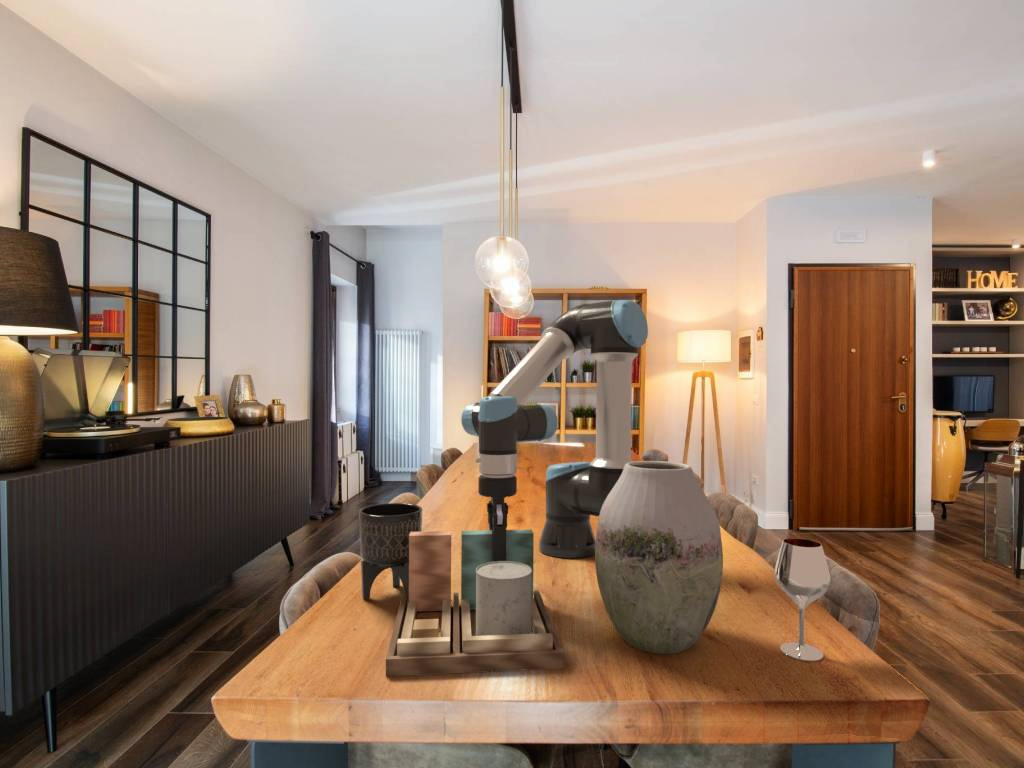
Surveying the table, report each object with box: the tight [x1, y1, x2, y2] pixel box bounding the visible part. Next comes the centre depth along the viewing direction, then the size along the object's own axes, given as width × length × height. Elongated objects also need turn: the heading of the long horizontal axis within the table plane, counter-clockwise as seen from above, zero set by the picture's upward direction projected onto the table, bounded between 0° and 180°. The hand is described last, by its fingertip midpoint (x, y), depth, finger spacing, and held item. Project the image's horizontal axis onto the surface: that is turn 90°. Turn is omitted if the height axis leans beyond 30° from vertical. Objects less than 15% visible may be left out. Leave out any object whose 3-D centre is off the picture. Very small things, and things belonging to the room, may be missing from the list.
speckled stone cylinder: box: [475, 561, 532, 636], centre depth 98 cm, size 10×10×12 cm
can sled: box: [460, 529, 553, 653], centre depth 102 cm, size 14×26×14 cm, turn 6°
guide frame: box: [385, 589, 565, 677], centre depth 101 cm, size 27×27×2 cm
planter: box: [358, 502, 423, 602], centre depth 120 cm, size 13×13×18 cm
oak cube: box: [412, 618, 440, 638], centre depth 96 cm, size 4×4×4 cm
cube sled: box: [397, 530, 452, 656], centre depth 101 cm, size 8×26×14 cm, turn 6°
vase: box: [594, 460, 724, 655], centre depth 100 cm, size 21×21×30 cm
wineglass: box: [774, 537, 831, 662], centre depth 95 cm, size 8×8×18 cm
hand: (496, 593), depth 114 cm, fingers open, 4 cm apart
